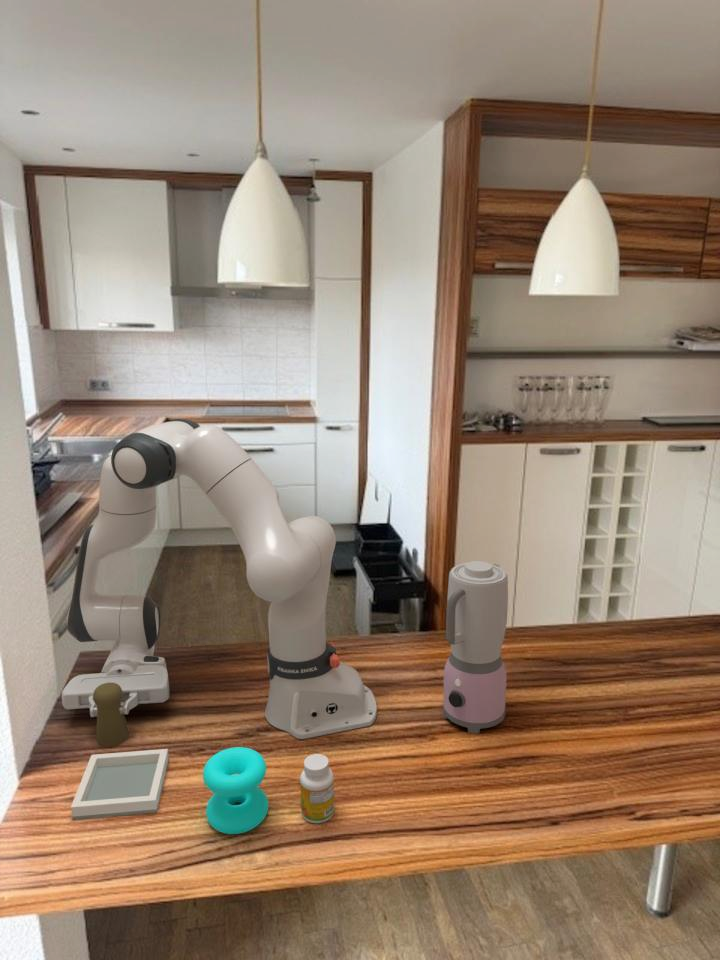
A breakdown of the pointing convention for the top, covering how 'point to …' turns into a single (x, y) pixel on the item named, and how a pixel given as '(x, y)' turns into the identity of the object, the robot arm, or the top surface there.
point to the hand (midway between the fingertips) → (108, 712)
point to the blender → (476, 645)
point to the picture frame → (121, 784)
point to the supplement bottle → (317, 789)
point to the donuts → (235, 790)
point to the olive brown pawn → (110, 716)
